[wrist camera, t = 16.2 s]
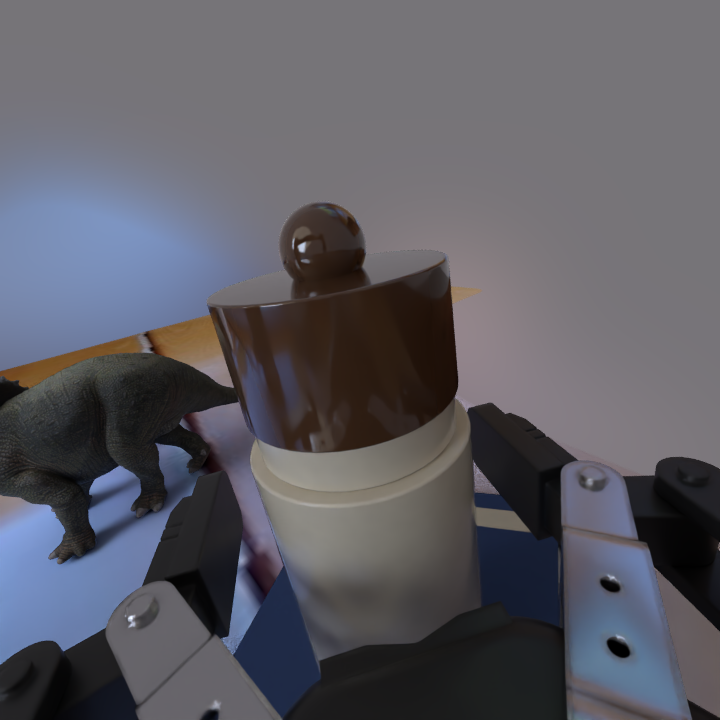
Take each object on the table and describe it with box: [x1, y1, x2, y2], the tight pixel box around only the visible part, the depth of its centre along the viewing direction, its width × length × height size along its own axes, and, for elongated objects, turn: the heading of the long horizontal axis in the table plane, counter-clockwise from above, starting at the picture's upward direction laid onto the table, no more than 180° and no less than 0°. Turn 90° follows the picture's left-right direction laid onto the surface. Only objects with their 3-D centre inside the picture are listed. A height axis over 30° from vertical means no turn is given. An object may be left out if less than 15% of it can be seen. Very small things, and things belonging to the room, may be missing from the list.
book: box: [233, 493, 558, 718], centre depth 13 cm, size 13×18×1 cm
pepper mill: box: [207, 201, 483, 672], centre depth 10 cm, size 5×5×15 cm
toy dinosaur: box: [0, 353, 239, 564], centre depth 23 cm, size 22×8×11 cm, turn 114°
